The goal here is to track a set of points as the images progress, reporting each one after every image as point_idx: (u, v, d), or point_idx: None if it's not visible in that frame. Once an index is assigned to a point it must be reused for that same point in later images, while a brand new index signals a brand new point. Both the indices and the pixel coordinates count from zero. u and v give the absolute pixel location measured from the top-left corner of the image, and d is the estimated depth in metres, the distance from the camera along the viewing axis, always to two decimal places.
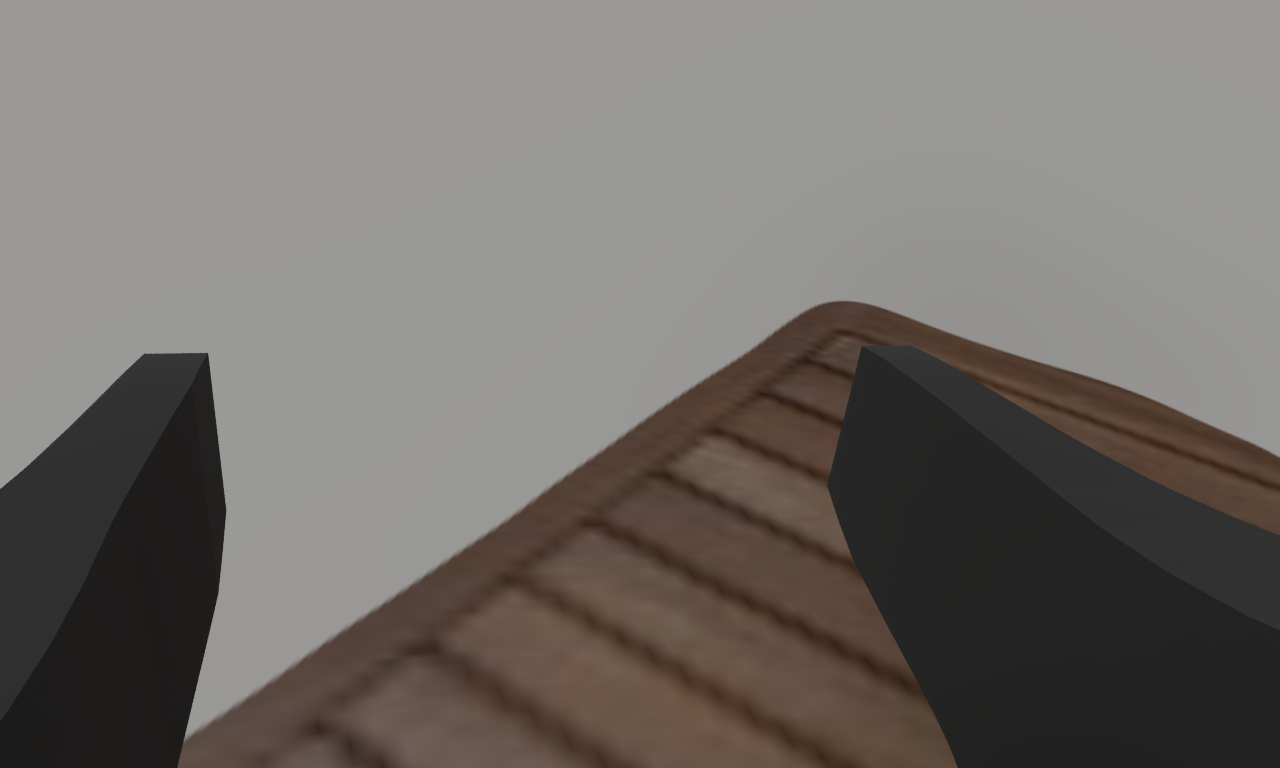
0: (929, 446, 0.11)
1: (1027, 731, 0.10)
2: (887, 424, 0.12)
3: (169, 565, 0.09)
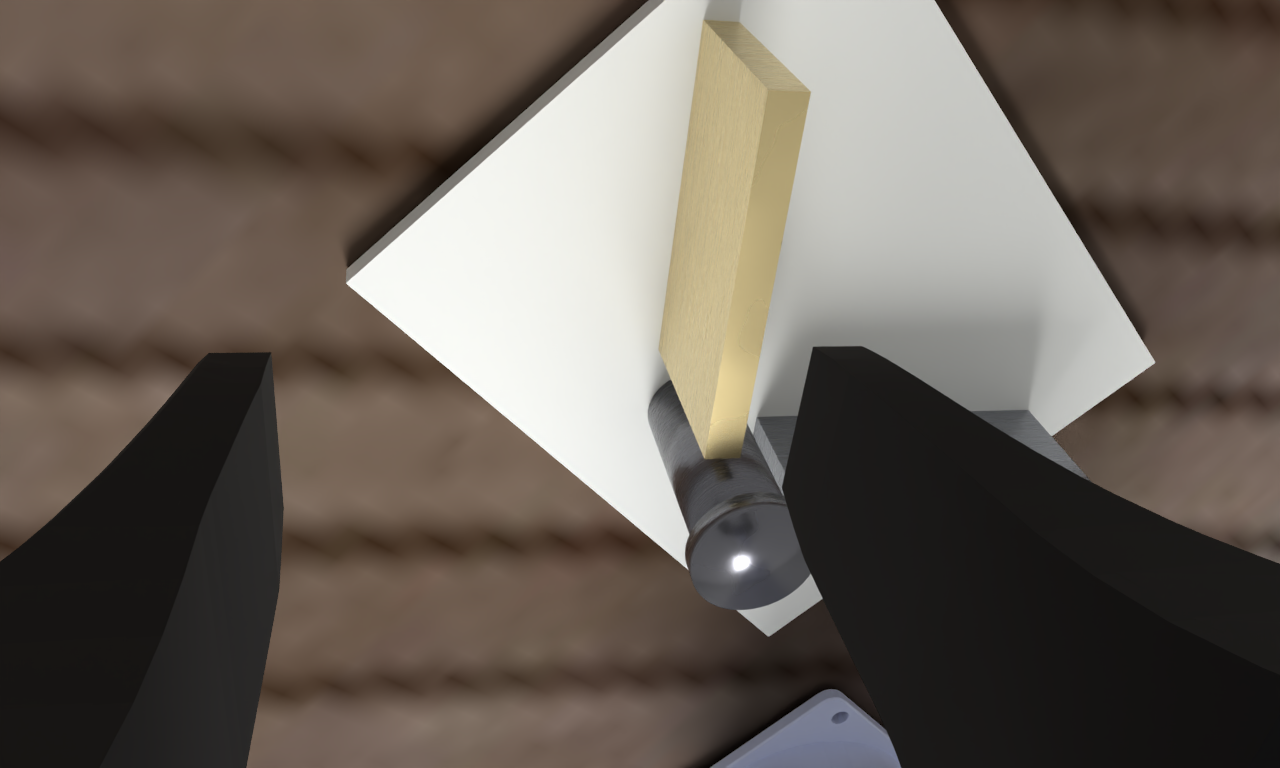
0: (875, 448, 0.11)
1: (966, 737, 0.10)
2: (836, 426, 0.12)
3: (243, 561, 0.10)
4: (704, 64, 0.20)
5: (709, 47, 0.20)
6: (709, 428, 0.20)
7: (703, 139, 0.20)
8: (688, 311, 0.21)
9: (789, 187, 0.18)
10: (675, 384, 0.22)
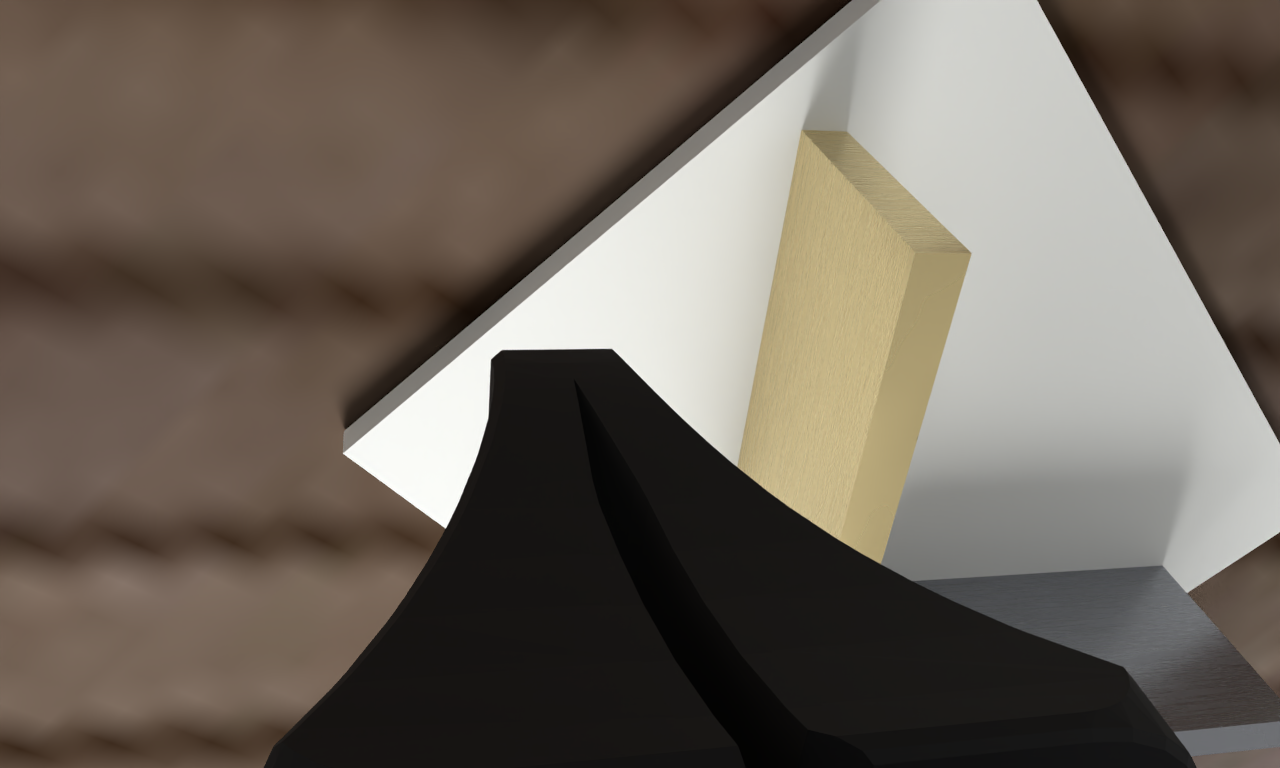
0: (589, 458, 0.10)
1: None
2: None
3: None
4: (803, 187, 0.16)
5: (811, 168, 0.15)
6: None
7: (801, 282, 0.16)
8: (775, 489, 0.17)
9: (932, 371, 0.13)
10: None
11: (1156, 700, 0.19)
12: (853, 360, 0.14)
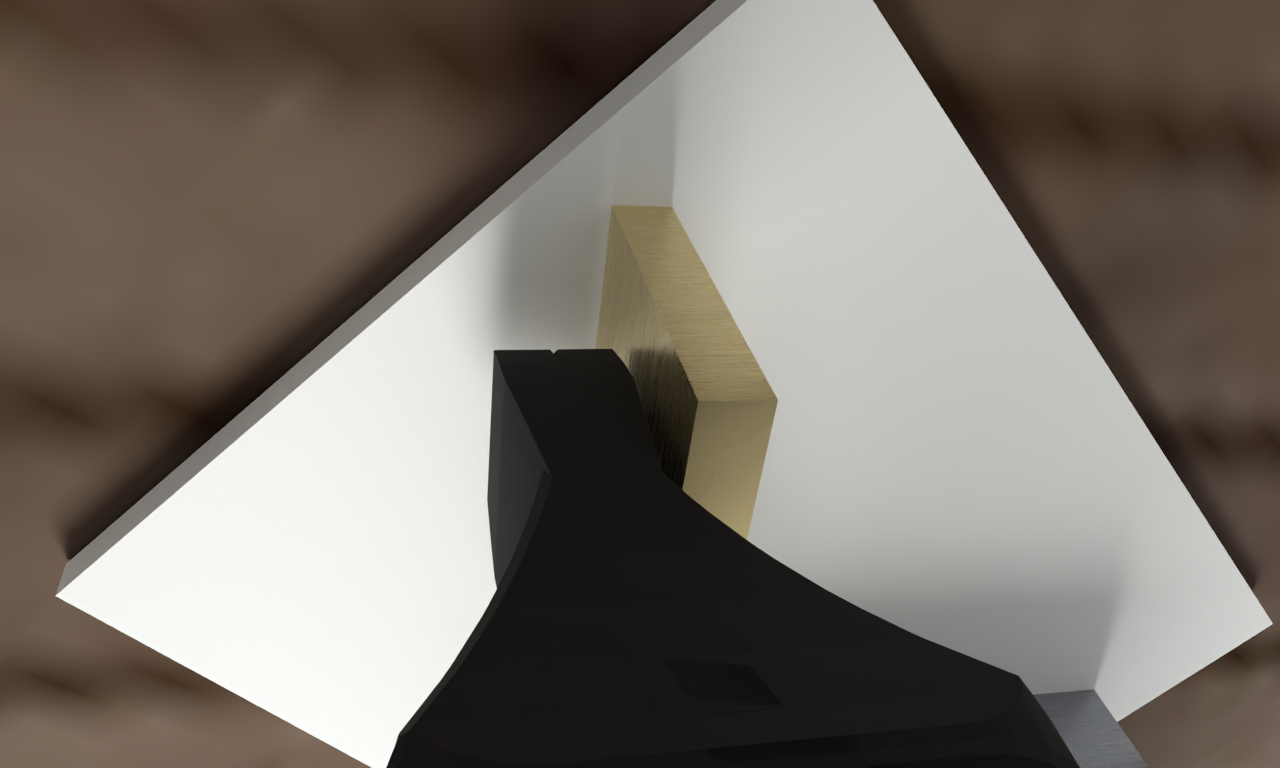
0: (518, 460, 0.10)
1: None
2: (501, 435, 0.11)
3: None
4: (613, 278, 0.12)
5: (618, 256, 0.12)
6: None
7: None
8: None
9: None
10: None
11: None
12: None
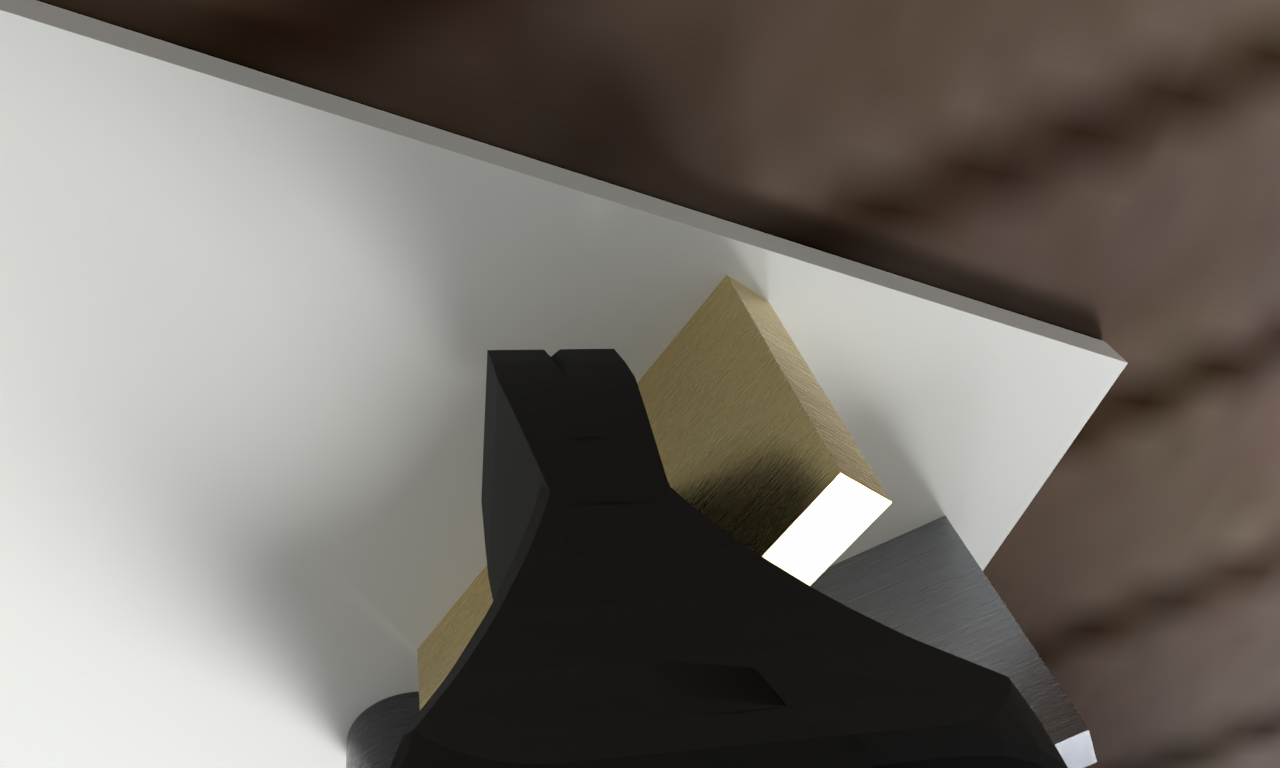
0: (511, 460, 0.10)
1: None
2: (495, 435, 0.11)
3: None
4: (701, 335, 0.13)
5: (722, 320, 0.13)
6: None
7: None
8: None
9: None
10: None
11: None
12: None
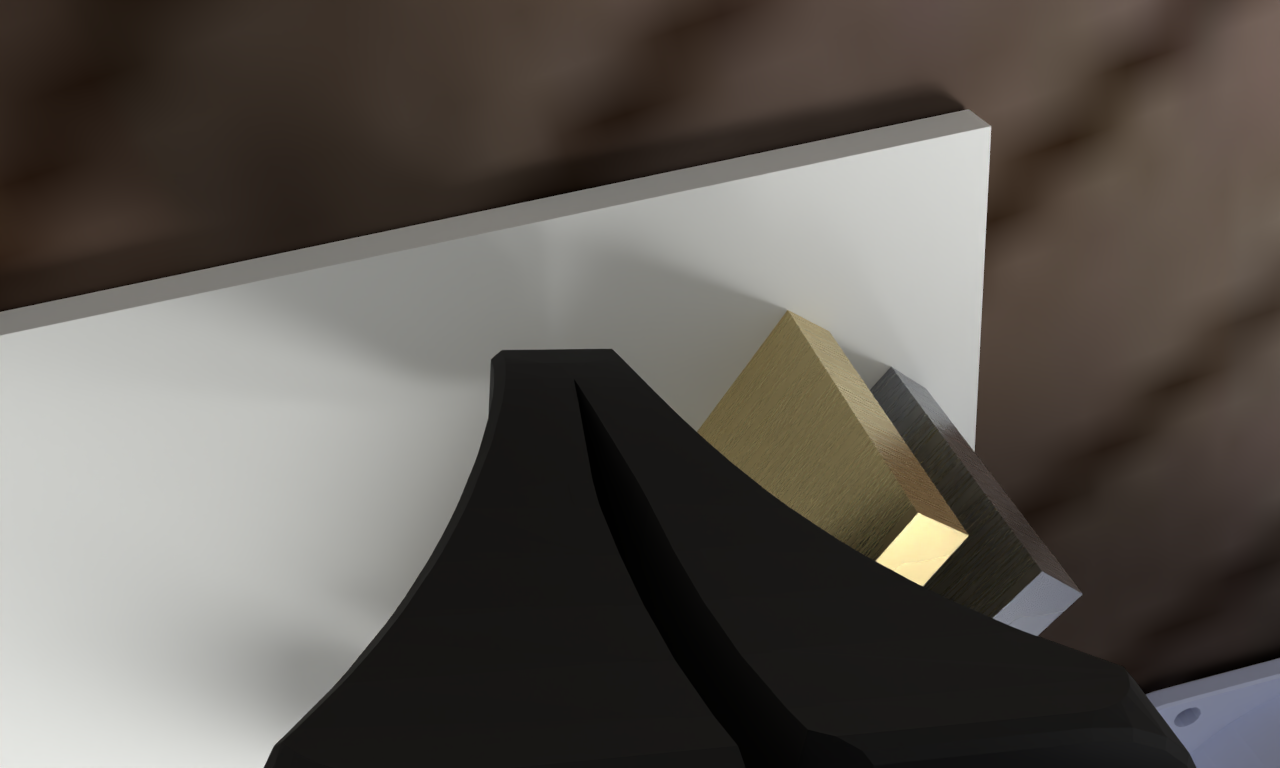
0: (589, 458, 0.10)
1: None
2: None
3: None
4: (767, 371, 0.14)
5: (787, 355, 0.13)
6: None
7: None
8: None
9: None
10: None
11: None
12: None
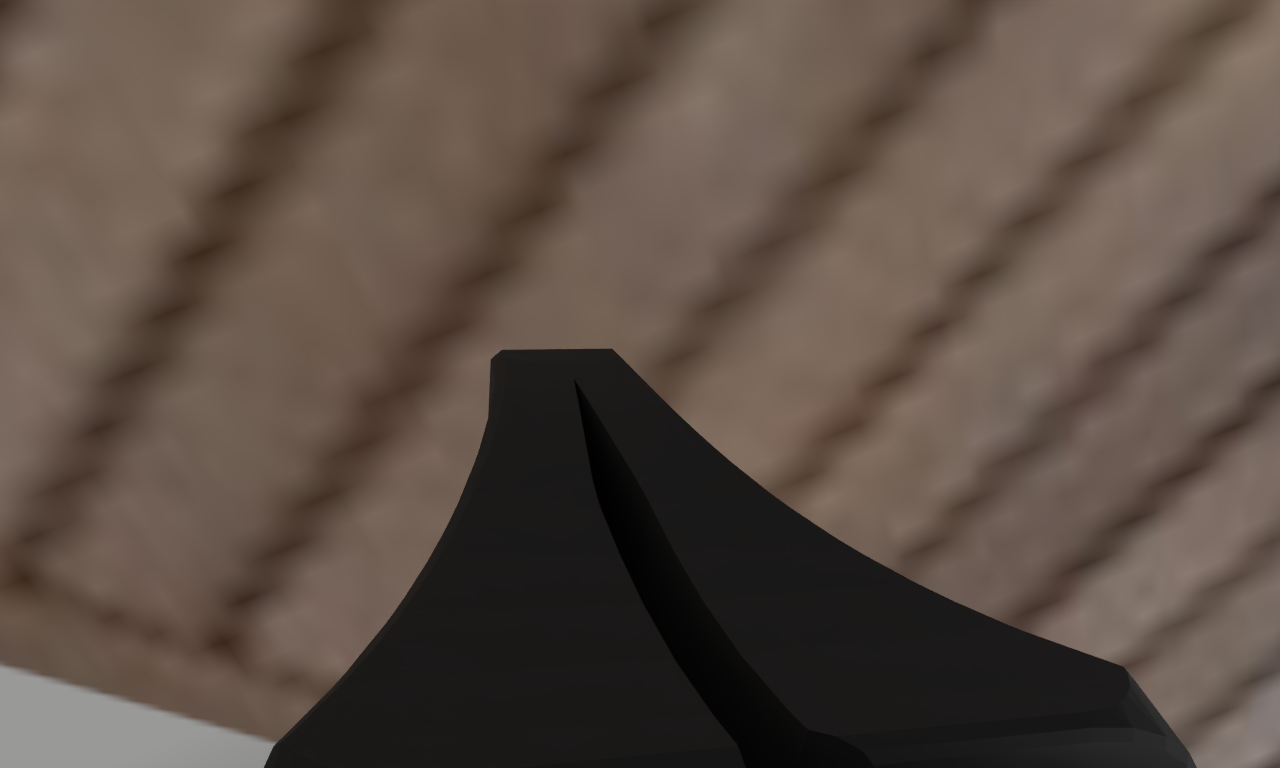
0: (589, 458, 0.10)
1: None
2: None
3: None
4: None
5: None
6: None
7: None
8: None
9: None
10: None
11: None
12: None
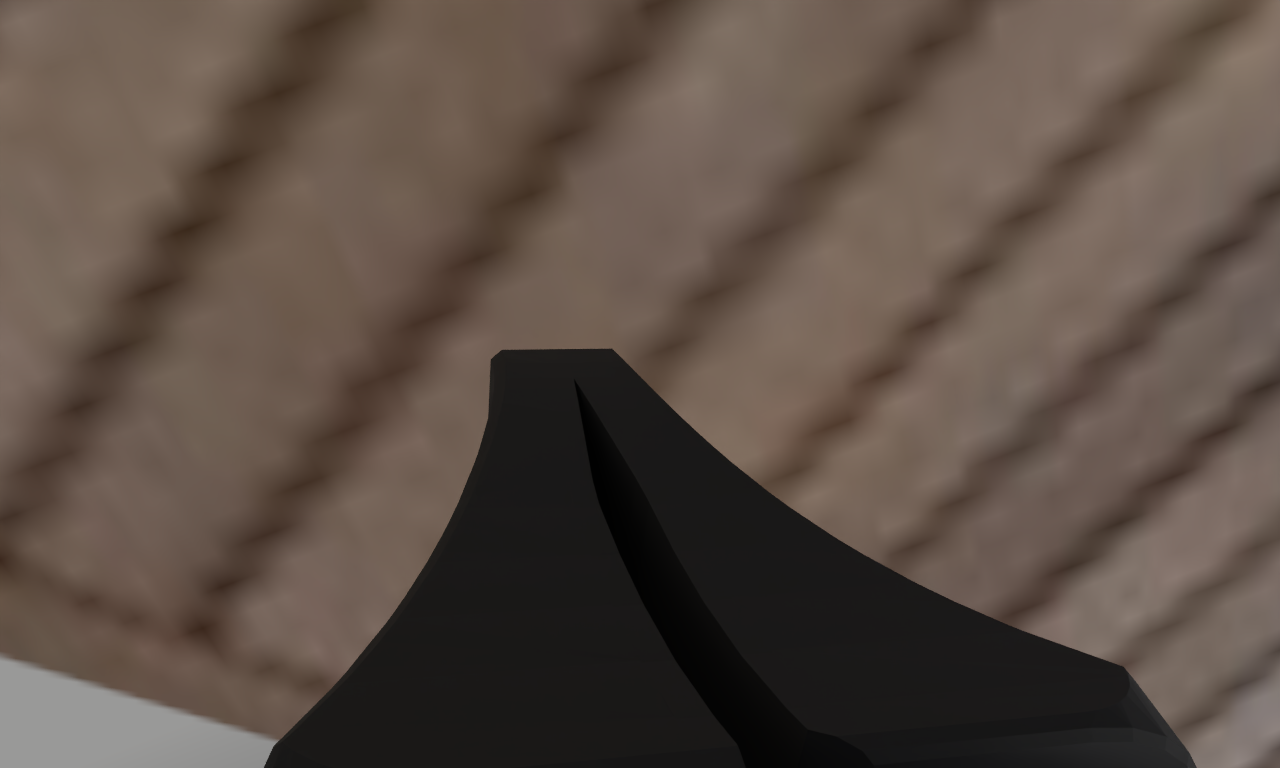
0: (589, 458, 0.10)
1: None
2: None
3: None
4: None
5: None
6: None
7: None
8: None
9: None
10: None
11: None
12: None
